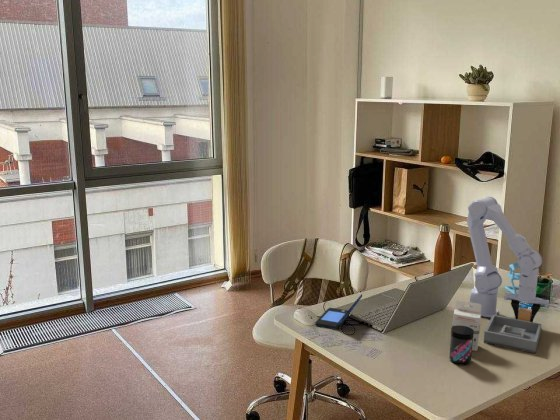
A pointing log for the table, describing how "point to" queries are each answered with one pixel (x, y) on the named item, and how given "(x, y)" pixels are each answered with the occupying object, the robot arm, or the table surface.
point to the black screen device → (335, 317)
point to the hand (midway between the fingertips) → (524, 321)
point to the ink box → (468, 319)
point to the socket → (513, 331)
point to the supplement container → (461, 344)
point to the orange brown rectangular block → (524, 314)
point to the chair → (513, 278)
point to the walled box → (523, 344)
